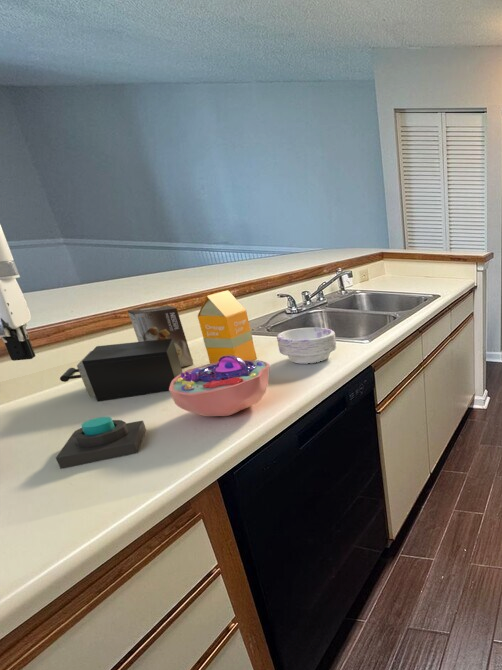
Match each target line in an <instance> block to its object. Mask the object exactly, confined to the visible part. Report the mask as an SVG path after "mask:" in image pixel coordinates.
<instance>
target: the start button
mask: <svg viewBox="0 0 502 670" xmlns="http://www.w3.org/2000/svg"><path fill="white" fill-rule="evenodd" d="M113 420H114V419H113V418H112V417H109V416H101V417H96V418H92V419H89V420H86V421H84V422H82V424H81V426H80V428H82V429H83V431H84V434H85V435H95V434H100V433H104V432H107V431H110V430H111V429H113V428H115V426H114V423H113Z"/></svg>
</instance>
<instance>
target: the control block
mask: <svg viewBox="0 0 502 670" xmlns="http://www.w3.org/2000/svg"><path fill="white" fill-rule="evenodd" d="M112 420H113V423H114V426H115V428H113V429H111V430H110V431H107V432H104V433H100V434H95V435H85V434H84V431H83V429H82V427H80V428H78V429H76V430H75V431H74V432H72V434H71V435H70V437H69V438H68V440H67V441H66V442H65V444H64V445H63V447H62V448H61V449H60V451H59V453H57V455H56V456H55V460H56V462H57V464H58V466H59V469H60V470H63V469H68V468H72V467H76V466H82V465H87V464H88V465H89V464H92V463H97V462H102V461H106V460H112V459H116V458H121V457H126V456H130V455H135V454H138V453H139V451H140V448H141V445H142V443H143V440H144V437H145V435H146V432H147V428H146V425H145V421H144V420H137V421H132V422H126V421H124V420H122V419H112Z"/></svg>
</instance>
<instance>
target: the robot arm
mask: <svg viewBox="0 0 502 670" xmlns="http://www.w3.org/2000/svg"><path fill="white" fill-rule="evenodd" d="M19 278H21V275H20V273H19V270H18V268H17V265H16V262H15V260H14V257H13V254H12V251H11V248H10V246H9V243H8V240H7V237H6V235H5V233H4V230H3V228H2V225H1V223H0V338H1V340H2V342H3V343H4V346H5V347H6V351H7V353H8V355H9V358H10V360H11V361H14V362H15V361H27V360H33V359H34V358H35V357H36V354H35V350H34V348H33V345H32V343H31V340H30V337H29V333H28V330H27V323H29V322H30V321H31V320H32V315H31V311H30V308H29V306H28V305H29V304H28V303H27V301H26V298H25V295H24V294H23V291H22V289H21V287H20V284H19V283H18V281H17V279H19Z"/></svg>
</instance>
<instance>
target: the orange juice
mask: <svg viewBox="0 0 502 670" xmlns="http://www.w3.org/2000/svg"><path fill="white" fill-rule="evenodd" d="M247 312H248V311H247V309H246V308H245V307H244V306H243V305H242V304H241V303H240V301H238V300H237V299H236V297H235V296H234V294H232V293H231V292H230V290H229V289H226V290H222V291H221V290H220V291H217V292H213V293H210V294H206V296H205V298H204V300H203V303H202V305H201V307H200V309H199V311H198V314H197V319H198V323H199V327H200V330H201V335H202V339H203V342H204V346H205V349H206V353H207V357H208V361H209V364H211V363H217V362H219V359H220V358H221V357H223V356H226V355H233V356H236V357H239V358H241V359H242V360H257V359H258V357H257V353H256V348H255V344H254V339H253V334H252V330H251V326H250V321H249V317H248V313H247Z"/></svg>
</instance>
